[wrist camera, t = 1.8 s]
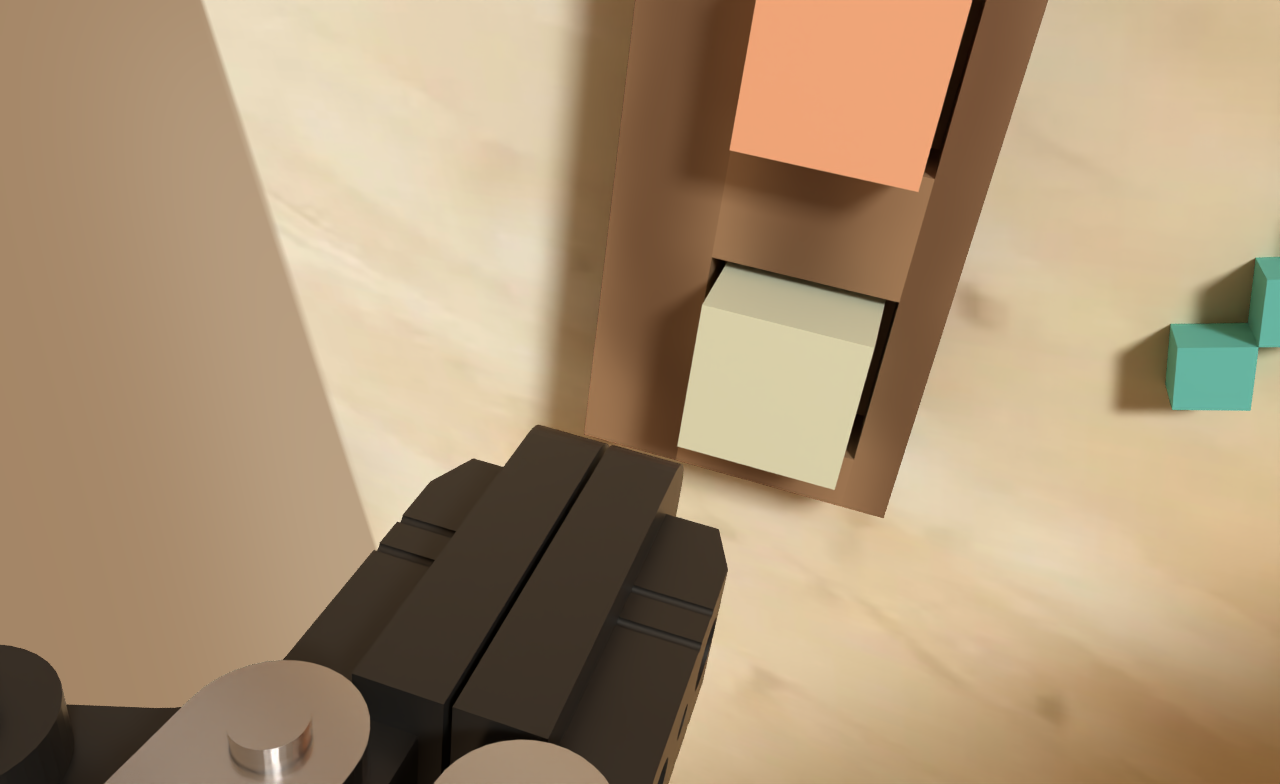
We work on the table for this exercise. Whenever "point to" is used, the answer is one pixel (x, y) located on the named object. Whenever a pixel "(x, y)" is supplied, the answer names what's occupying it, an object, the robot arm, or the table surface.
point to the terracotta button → (848, 84)
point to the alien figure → (1225, 350)
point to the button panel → (783, 231)
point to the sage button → (779, 372)
